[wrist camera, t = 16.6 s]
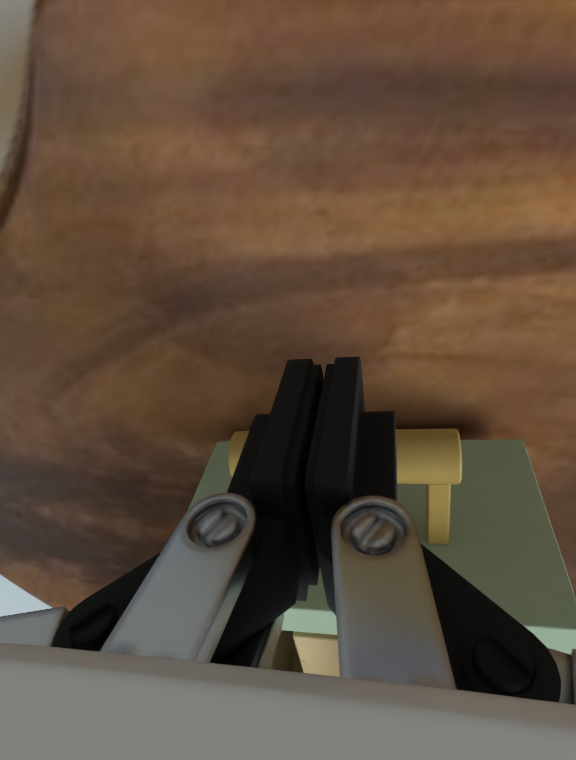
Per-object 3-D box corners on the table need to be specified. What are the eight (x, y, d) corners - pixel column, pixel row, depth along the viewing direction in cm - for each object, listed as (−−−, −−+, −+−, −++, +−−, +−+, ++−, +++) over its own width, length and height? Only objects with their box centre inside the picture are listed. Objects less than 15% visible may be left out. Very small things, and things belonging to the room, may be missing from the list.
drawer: (190, 359, 17) (98, 506, 12) (537, 342, 15) (624, 521, 9) (275, 623, 27) (245, 772, 21) (494, 641, 24) (525, 817, 19)
